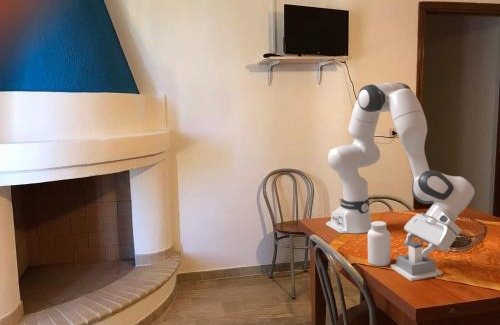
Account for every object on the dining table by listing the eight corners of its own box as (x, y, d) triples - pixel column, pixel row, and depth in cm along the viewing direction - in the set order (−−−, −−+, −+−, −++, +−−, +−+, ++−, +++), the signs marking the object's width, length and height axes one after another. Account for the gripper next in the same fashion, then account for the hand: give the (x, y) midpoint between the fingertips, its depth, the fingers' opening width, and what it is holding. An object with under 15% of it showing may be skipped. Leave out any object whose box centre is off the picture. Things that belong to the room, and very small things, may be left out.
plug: (408, 267, 151) (408, 242, 150) (416, 265, 152) (416, 240, 150) (414, 270, 148) (414, 245, 146) (422, 269, 148) (422, 244, 147)
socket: (390, 267, 154) (390, 255, 153) (420, 262, 157) (420, 250, 156) (410, 280, 143) (410, 268, 142) (442, 274, 145) (442, 262, 145)
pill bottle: (387, 268, 154) (386, 227, 151) (365, 264, 158) (364, 225, 156) (393, 260, 160) (392, 221, 158) (371, 257, 165) (370, 218, 162)
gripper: (414, 206, 158) (391, 235, 158) (453, 221, 139) (426, 255, 138) (425, 216, 160) (402, 245, 160) (465, 232, 140) (438, 266, 140)
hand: (413, 250), depth 149 cm, fingers open, 8 cm apart
